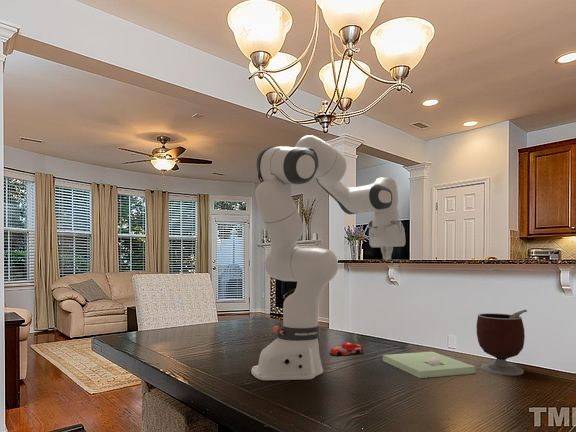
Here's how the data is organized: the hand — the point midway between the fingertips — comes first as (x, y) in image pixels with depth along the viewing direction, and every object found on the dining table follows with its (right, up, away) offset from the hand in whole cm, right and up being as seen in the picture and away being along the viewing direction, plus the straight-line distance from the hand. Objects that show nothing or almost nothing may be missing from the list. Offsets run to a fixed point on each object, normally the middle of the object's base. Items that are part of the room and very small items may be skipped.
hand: (387, 259), depth 154 cm
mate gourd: (+33, -34, -20) cm, 51 cm away
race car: (-14, -36, +3) cm, 39 cm away
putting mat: (+10, -34, -15) cm, 38 cm away
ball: (+11, -32, -19) cm, 38 cm away
